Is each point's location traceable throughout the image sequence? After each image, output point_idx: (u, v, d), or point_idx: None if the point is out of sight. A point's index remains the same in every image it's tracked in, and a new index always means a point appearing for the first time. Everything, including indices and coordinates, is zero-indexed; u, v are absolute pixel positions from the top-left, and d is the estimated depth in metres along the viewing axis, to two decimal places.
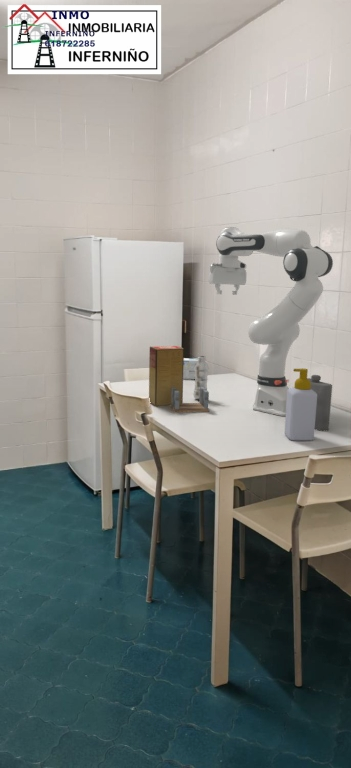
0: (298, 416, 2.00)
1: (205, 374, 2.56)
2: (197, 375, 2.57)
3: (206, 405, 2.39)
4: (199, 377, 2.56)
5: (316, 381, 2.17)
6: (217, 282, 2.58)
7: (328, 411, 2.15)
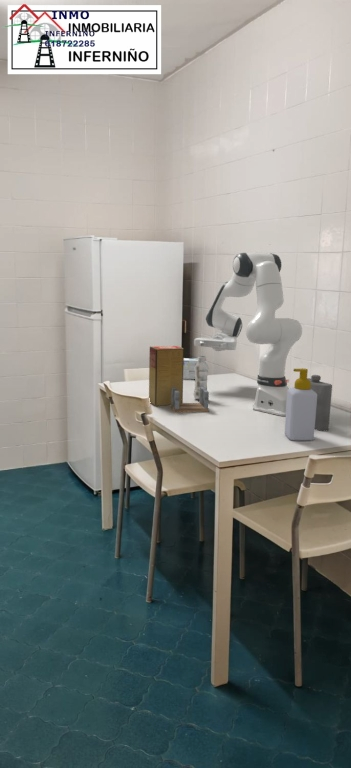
0: (298, 416, 2.00)
1: (205, 374, 2.56)
2: (197, 375, 2.57)
3: (206, 405, 2.39)
4: (199, 377, 2.56)
5: (316, 381, 2.17)
6: (199, 339, 2.75)
7: (328, 411, 2.15)
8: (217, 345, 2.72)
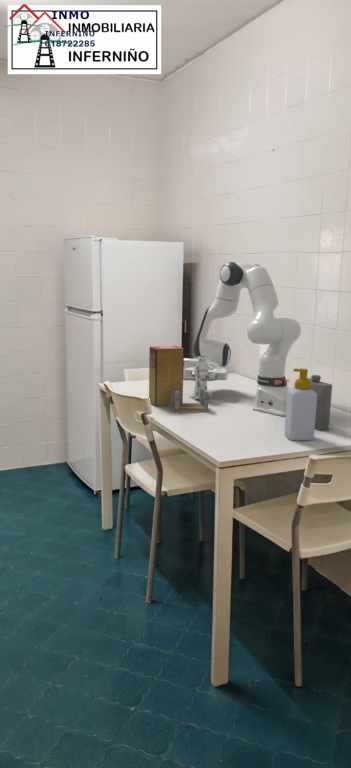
0: (298, 416, 2.00)
1: (205, 374, 2.56)
2: (197, 375, 2.57)
3: (206, 405, 2.39)
4: (199, 377, 2.56)
5: (316, 381, 2.17)
6: (189, 369, 2.65)
7: (328, 411, 2.15)
8: None
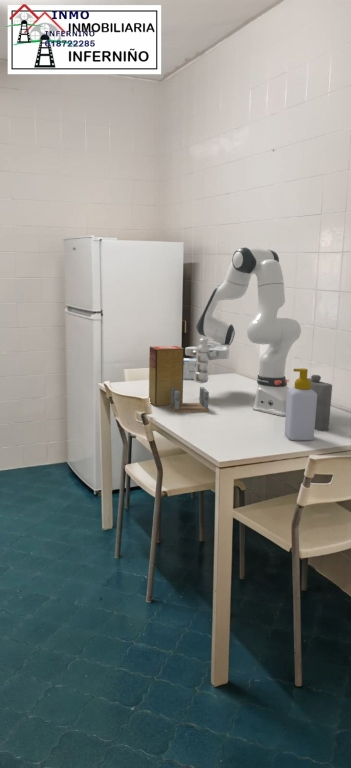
0: (298, 416, 2.00)
1: (206, 356, 2.55)
2: (198, 357, 2.55)
3: (206, 405, 2.39)
4: (200, 359, 2.55)
5: (316, 381, 2.17)
6: (190, 347, 2.63)
7: (328, 411, 2.15)
8: None
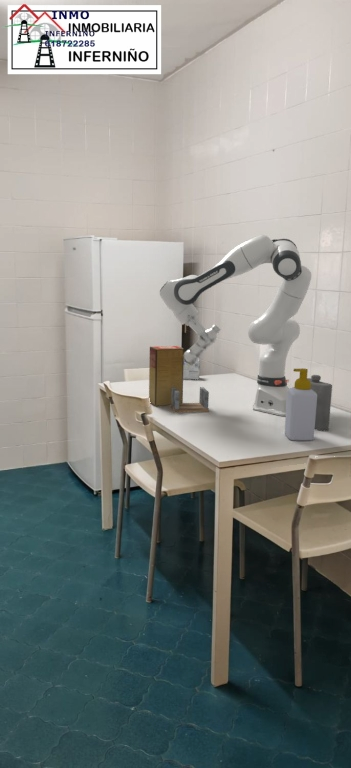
0: (298, 416, 2.00)
1: None
2: None
3: (206, 405, 2.39)
4: None
5: (316, 381, 2.17)
6: None
7: (328, 411, 2.15)
8: None
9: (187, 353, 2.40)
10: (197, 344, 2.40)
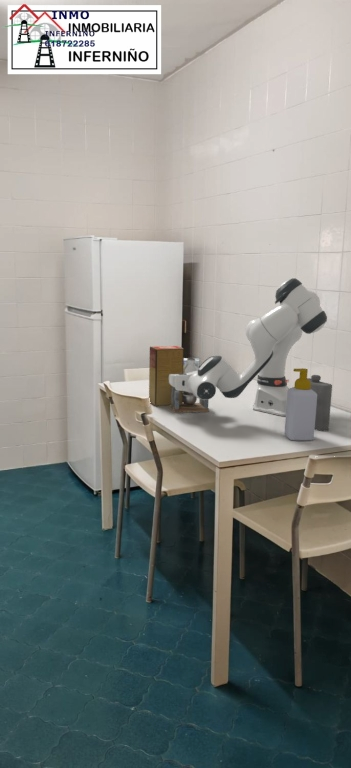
0: (298, 416, 2.00)
1: None
2: None
3: (206, 405, 2.39)
4: None
5: (316, 381, 2.17)
6: None
7: (328, 411, 2.15)
8: None
9: (195, 398, 2.42)
10: None
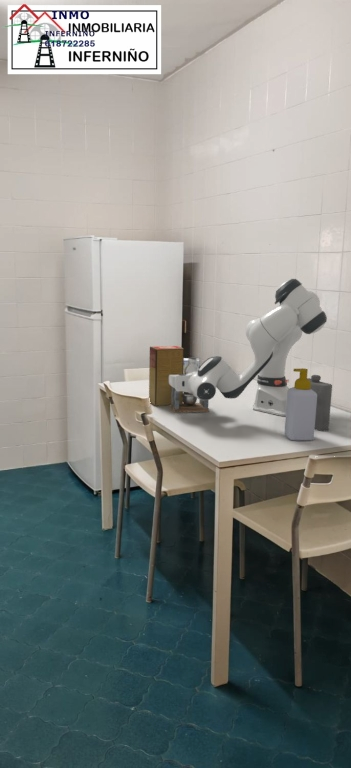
0: (298, 416, 2.00)
1: None
2: None
3: (206, 405, 2.39)
4: None
5: (316, 381, 2.17)
6: None
7: (328, 411, 2.15)
8: None
9: (195, 398, 2.42)
10: None
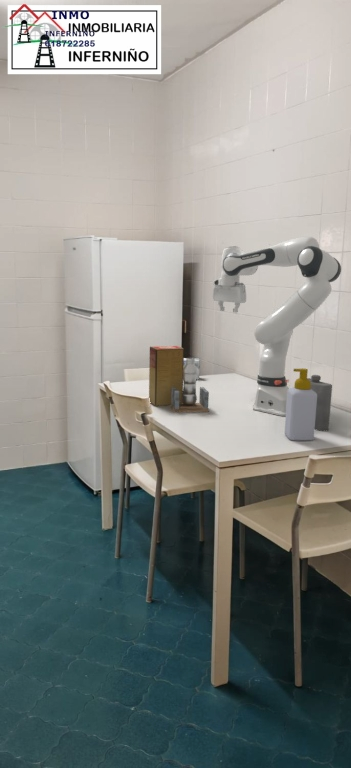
0: (298, 416, 2.00)
1: None
2: None
3: (206, 405, 2.39)
4: None
5: (316, 381, 2.17)
6: None
7: (328, 411, 2.15)
8: None
9: (195, 398, 2.42)
10: (194, 384, 2.42)
